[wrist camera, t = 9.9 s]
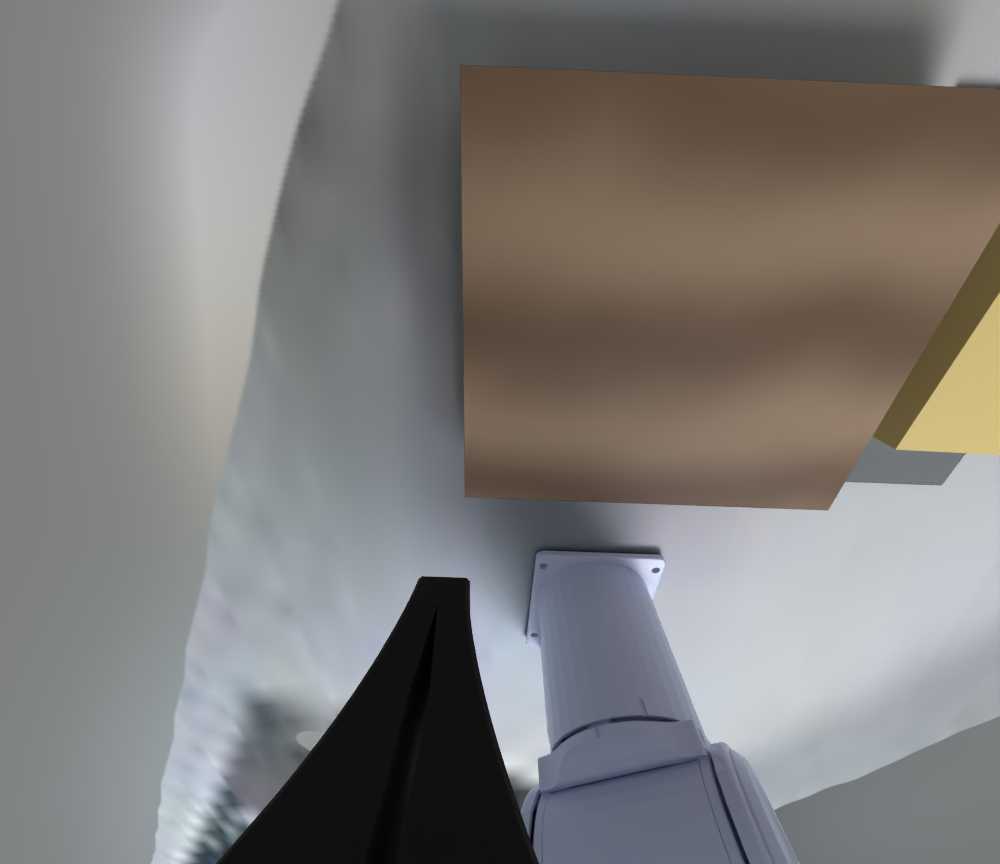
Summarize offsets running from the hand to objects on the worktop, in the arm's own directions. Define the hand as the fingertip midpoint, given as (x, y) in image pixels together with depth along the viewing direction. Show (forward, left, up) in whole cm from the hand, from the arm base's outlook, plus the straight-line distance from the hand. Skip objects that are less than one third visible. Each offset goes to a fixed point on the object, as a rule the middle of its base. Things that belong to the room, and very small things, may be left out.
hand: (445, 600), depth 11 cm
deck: (+6, -8, -10) cm, 14 cm away
